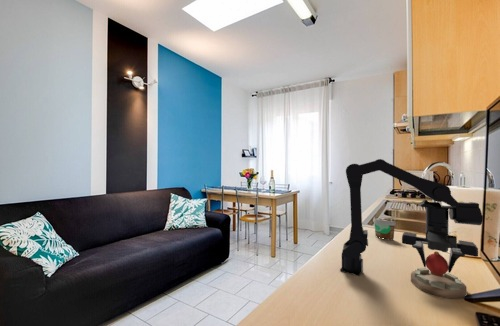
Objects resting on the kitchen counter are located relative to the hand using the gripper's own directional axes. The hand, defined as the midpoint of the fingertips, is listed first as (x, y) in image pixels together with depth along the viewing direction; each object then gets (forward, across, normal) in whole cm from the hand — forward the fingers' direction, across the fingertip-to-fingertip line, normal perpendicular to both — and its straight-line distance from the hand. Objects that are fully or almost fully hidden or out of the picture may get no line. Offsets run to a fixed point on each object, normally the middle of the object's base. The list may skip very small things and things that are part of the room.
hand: (436, 269), depth 75 cm
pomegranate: (+2, 0, 0) cm, 2 cm away
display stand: (+5, 0, 0) cm, 5 cm away
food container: (+6, -22, +45) cm, 50 cm away
